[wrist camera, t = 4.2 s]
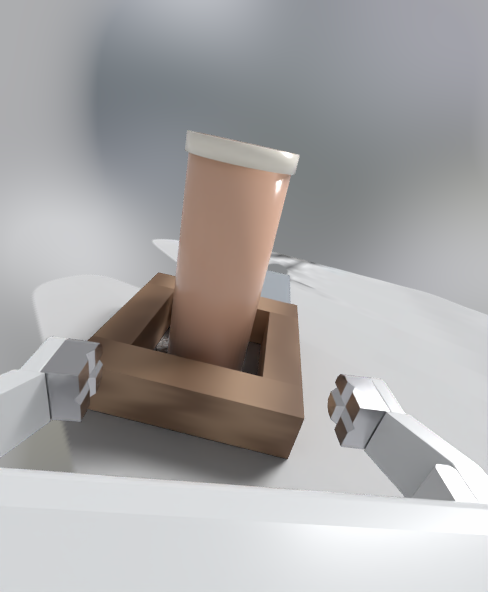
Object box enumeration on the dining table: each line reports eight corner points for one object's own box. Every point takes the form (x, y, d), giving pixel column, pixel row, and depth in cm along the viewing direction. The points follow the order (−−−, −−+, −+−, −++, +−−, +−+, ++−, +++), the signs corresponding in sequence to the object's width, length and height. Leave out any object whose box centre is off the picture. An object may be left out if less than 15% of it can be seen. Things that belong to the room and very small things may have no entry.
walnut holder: (71, 404, 19) (67, 359, 17) (156, 303, 31) (158, 272, 29) (287, 459, 18) (304, 418, 17) (287, 335, 30) (297, 305, 29)
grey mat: (165, 290, 34) (165, 286, 33) (194, 255, 44) (195, 253, 44) (289, 319, 33) (290, 316, 33) (288, 278, 44) (289, 275, 44)
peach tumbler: (246, 396, 22) (311, 158, 15) (156, 386, 21) (179, 129, 14) (241, 327, 30) (282, 150, 23) (175, 318, 29) (197, 131, 22)
